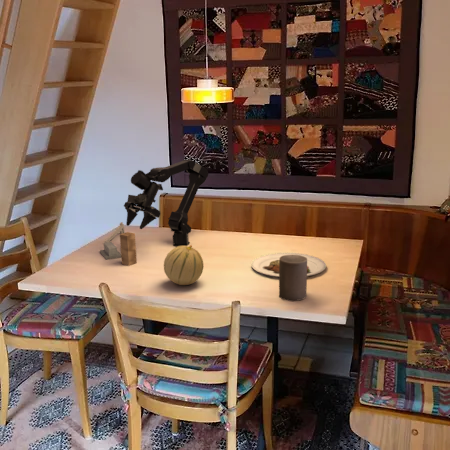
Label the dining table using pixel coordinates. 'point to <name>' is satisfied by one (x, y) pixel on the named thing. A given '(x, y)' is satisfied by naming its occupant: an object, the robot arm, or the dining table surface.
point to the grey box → (110, 251)
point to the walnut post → (128, 248)
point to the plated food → (271, 264)
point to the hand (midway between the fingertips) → (133, 227)
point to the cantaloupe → (183, 265)
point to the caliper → (116, 232)
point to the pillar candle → (292, 277)
